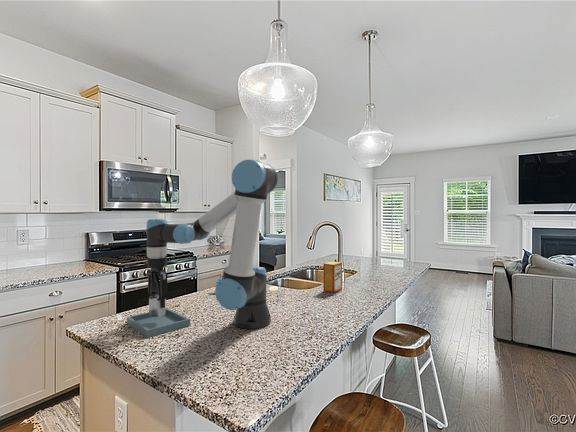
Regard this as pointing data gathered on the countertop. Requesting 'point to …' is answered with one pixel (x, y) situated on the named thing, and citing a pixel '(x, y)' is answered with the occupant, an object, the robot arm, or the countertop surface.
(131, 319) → the parts tray
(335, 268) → the baking soda box
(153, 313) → the knob
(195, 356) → the countertop surface
